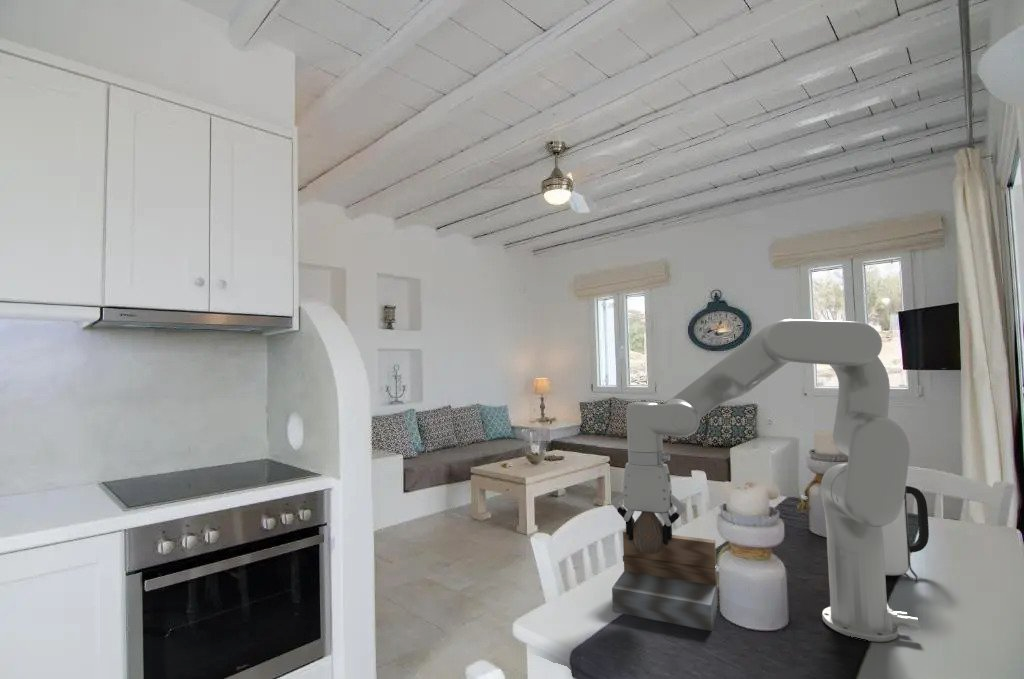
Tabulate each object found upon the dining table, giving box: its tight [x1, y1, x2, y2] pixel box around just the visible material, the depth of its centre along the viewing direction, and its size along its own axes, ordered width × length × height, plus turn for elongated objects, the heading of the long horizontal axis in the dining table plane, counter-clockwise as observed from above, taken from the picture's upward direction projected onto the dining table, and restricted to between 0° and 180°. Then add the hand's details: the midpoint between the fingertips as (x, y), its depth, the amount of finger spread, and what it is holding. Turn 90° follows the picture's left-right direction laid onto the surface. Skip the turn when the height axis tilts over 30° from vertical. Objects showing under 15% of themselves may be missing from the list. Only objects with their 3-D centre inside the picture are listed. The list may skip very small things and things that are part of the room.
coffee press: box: [846, 462, 930, 582], centre depth 129 cm, size 17×16×30 cm
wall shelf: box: [611, 528, 719, 632], centre depth 112 cm, size 20×12×14 cm, turn 63°
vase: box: [633, 511, 664, 554], centre depth 113 cm, size 7×7×9 cm
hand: (649, 540), depth 113 cm, fingers closed on vase, 7 cm apart
